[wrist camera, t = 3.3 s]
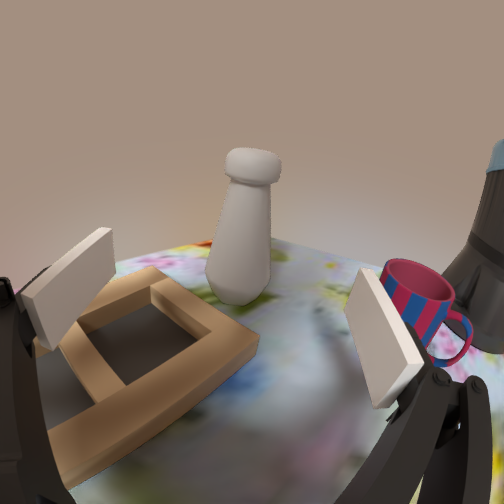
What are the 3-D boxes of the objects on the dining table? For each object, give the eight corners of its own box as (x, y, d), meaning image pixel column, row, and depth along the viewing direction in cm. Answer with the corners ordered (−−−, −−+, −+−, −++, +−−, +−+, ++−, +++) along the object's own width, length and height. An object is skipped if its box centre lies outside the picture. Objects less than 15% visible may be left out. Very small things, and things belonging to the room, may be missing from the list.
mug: (390, 314, 25) (415, 256, 22) (451, 377, 17) (493, 317, 14) (343, 326, 23) (369, 259, 20) (410, 408, 15) (463, 340, 12)
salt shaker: (265, 316, 23) (298, 160, 17) (199, 307, 23) (211, 147, 17) (265, 280, 28) (289, 152, 22) (209, 272, 28) (223, 142, 22)
